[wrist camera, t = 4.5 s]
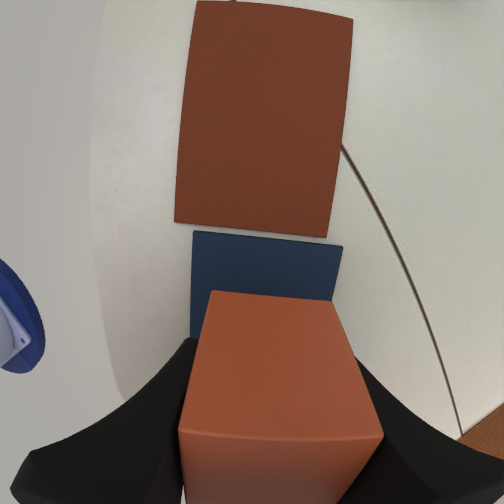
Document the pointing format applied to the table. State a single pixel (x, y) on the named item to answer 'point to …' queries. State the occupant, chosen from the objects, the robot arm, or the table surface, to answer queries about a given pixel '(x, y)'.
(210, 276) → the blue mat
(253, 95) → the terracotta mat
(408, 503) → the robot arm
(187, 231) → the table surface
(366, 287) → the table surface
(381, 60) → the table surface
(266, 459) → the terracotta block
